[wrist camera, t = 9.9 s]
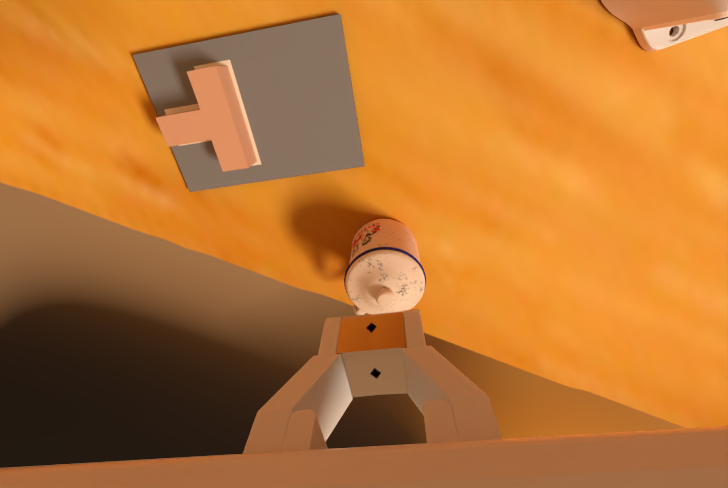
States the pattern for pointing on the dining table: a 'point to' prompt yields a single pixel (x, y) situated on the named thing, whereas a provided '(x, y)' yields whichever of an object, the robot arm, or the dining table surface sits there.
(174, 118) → the t block
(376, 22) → the dining table surface
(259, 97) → the t mat
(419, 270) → the teacup with lid
